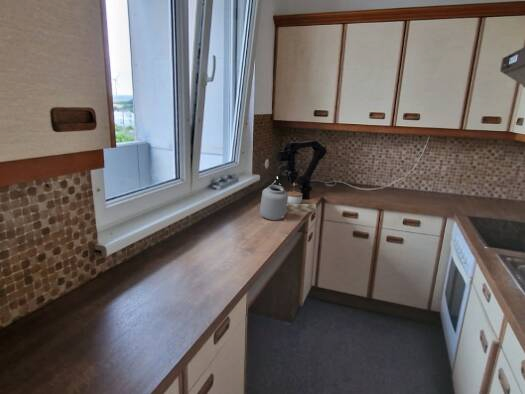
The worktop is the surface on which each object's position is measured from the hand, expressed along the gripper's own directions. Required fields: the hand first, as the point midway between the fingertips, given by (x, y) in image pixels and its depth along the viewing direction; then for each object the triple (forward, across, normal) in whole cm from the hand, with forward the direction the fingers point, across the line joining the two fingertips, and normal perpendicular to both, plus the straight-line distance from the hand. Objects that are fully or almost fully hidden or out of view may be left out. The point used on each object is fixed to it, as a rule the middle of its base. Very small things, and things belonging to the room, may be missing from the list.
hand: (290, 183), depth 242 cm
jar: (+12, +40, -18) cm, 45 cm away
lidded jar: (+12, +11, 0) cm, 17 cm away
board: (+12, +26, +1) cm, 28 cm away
